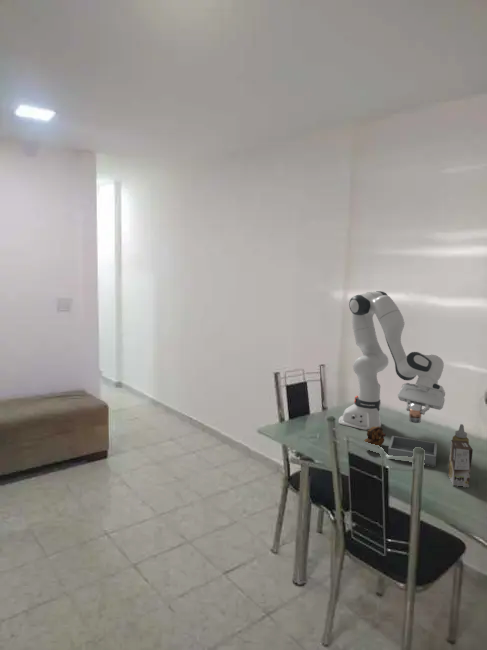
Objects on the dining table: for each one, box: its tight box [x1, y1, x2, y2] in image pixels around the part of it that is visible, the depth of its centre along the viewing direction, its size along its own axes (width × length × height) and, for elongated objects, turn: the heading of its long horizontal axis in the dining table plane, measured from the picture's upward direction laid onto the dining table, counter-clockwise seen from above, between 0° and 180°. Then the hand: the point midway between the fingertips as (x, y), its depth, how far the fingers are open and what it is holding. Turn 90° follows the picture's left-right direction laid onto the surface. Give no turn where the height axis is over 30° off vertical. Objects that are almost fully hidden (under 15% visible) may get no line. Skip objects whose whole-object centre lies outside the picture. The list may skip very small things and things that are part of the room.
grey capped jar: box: [408, 402, 423, 424], centre depth 212 cm, size 5×5×8 cm
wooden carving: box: [363, 426, 387, 447], centre depth 223 cm, size 16×5×10 cm, turn 138°
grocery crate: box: [387, 435, 438, 468], centre depth 215 cm, size 20×16×5 cm
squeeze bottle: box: [449, 423, 470, 456], centre depth 207 cm, size 8×8×18 cm
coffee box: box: [447, 439, 474, 488], centre depth 191 cm, size 9×6×16 cm
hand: (414, 412), depth 212 cm, fingers closed on grey capped jar, 5 cm apart
